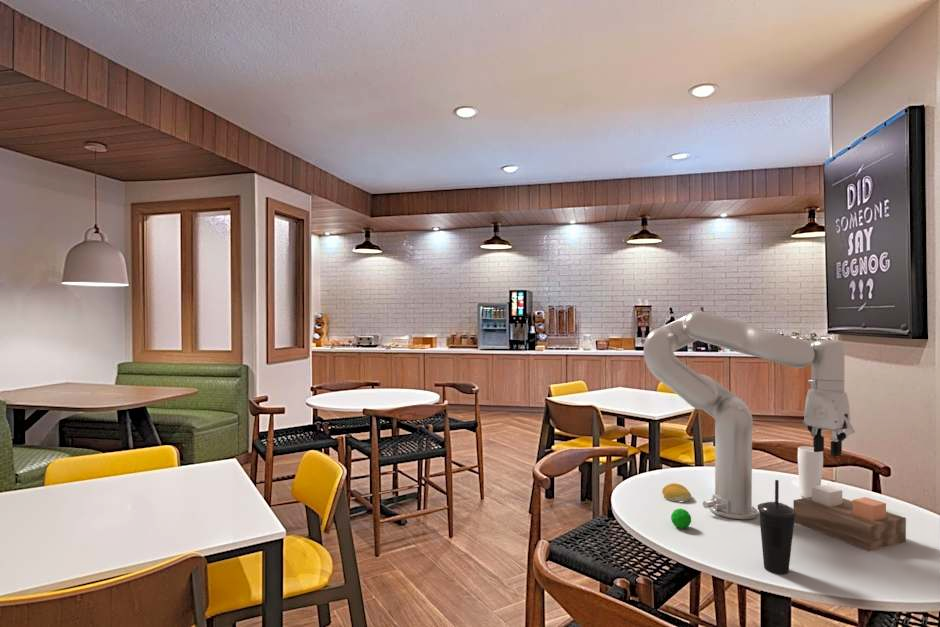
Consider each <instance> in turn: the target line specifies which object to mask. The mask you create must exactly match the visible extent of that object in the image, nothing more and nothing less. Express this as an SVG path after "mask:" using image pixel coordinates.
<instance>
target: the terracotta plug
mask: <svg viewBox="0 0 940 627" xmlns="http://www.w3.org/2000/svg"><path fill="white" fill-rule="evenodd" d="M852 501H853V515H856V516H859V517H862V518H865V519H868V520H871V521H878V520H883V519H886V512H887V503H886V502H883V501H879V500H876V499H872V498H869V497H866V496H865V497H860V498H856V499H855V498H854V499H852Z"/></svg>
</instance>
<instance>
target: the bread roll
mask: <svg viewBox="0 0 940 627" xmlns="http://www.w3.org/2000/svg"><path fill="white" fill-rule="evenodd" d="M661 493H662V496H663V498H664V499H665V498H666V499H669V500H668V501H670V500H673V501H672V502H674V501H686V502H688V500H689V501H691V499H692V494H691V493H690V491H689V489H688V488H686V486H684V485H682V484H679V483H674V482H673V483H669V484H667V485H665V486H664V487H663V488H662V490H661ZM666 499H665V500H666Z"/></svg>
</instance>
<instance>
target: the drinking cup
mask: <svg viewBox="0 0 940 627" xmlns="http://www.w3.org/2000/svg"><path fill="white" fill-rule="evenodd" d="M779 488H780V486H779V480H778V479H775V480H774V501H766V502H762V503H759V504H758V505H757V511H758V515H759V523H760V524H759V526H760V537H761V548H762V549H761V550H762V561H763V568H764V569H765V571H767V572H769V573H772V574H776V575H787V574H788V573H789V570H790V560H791V552H792V545H793V534H794V527H795V522H794V519H795V515H796V510H795V509H793V507H791V506H789V505H787V504H785V503H782V502H779Z"/></svg>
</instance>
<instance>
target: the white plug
mask: <svg viewBox="0 0 940 627" xmlns="http://www.w3.org/2000/svg"><path fill="white" fill-rule="evenodd" d="M842 498H843V490H842V489H839V488H836V487H833V486H829V485H826V484H821V486H815V487H812V501H814V502H817V503H820V504H823V505H826V506H829V507H832V506H837V505H842Z"/></svg>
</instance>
